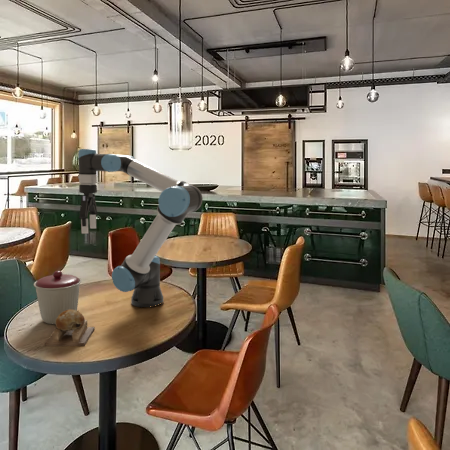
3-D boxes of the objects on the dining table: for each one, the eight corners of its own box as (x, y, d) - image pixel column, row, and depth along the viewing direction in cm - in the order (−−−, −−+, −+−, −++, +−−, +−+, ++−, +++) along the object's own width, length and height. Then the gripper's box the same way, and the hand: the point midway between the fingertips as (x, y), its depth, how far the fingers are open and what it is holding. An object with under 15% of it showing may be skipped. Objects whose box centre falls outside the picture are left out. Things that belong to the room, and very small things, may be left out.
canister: (79, 309, 175) (78, 263, 172) (85, 324, 159) (83, 274, 156) (34, 315, 167) (32, 267, 164) (36, 331, 151) (33, 279, 148)
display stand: (94, 329, 155) (94, 318, 154) (84, 345, 141) (84, 333, 140) (58, 329, 154) (57, 318, 153) (44, 345, 140) (44, 334, 139)
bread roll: (63, 341, 141) (69, 325, 138) (47, 324, 145) (52, 307, 143) (86, 332, 150) (91, 316, 147) (70, 316, 154) (75, 300, 151)
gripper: (87, 182, 186) (88, 226, 189) (70, 185, 162) (72, 235, 165) (103, 183, 187) (103, 226, 190) (89, 185, 162) (90, 235, 165)
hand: (89, 230), depth 177 cm, fingers open, 13 cm apart
